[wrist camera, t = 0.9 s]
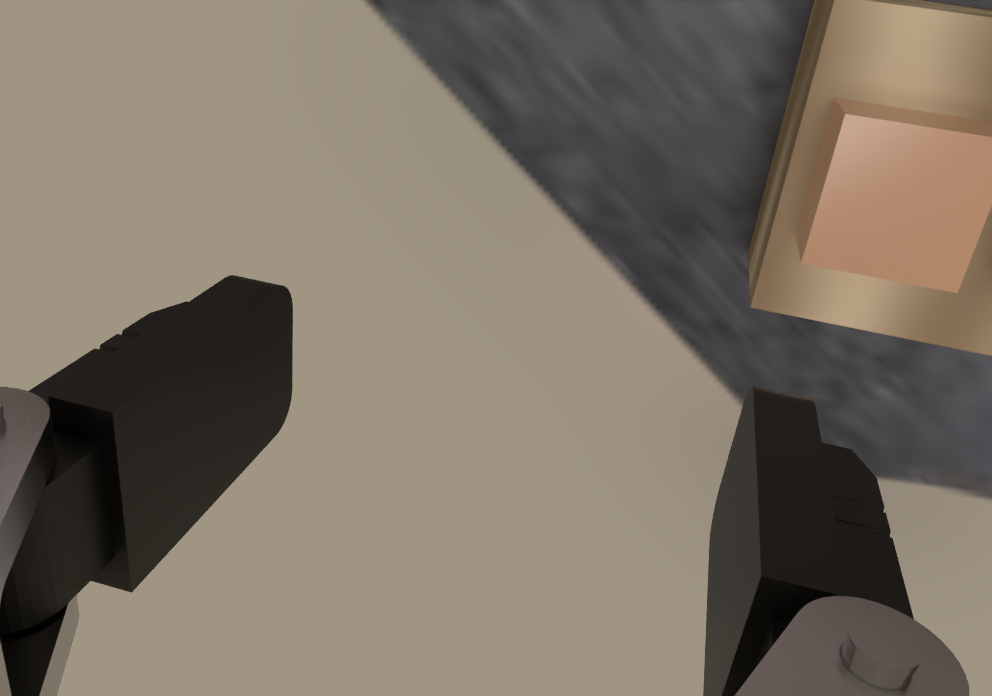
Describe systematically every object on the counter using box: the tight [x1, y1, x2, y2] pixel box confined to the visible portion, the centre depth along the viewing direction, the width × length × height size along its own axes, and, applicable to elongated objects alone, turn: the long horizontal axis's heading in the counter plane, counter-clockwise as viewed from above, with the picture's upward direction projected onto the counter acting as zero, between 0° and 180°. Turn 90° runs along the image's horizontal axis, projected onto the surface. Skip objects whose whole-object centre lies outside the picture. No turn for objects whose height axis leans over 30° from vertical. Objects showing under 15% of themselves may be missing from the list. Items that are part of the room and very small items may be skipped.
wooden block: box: [748, 0, 992, 356], centre depth 26 cm, size 12×9×6 cm
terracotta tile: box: [795, 98, 992, 293], centre depth 23 cm, size 4×4×2 cm
